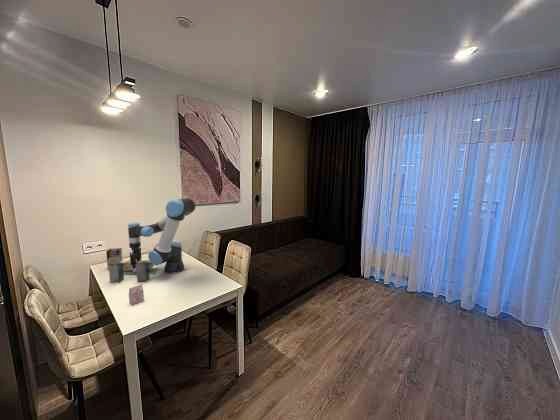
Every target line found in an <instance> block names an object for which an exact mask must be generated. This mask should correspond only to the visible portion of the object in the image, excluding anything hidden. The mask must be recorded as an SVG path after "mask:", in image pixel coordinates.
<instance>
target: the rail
mask: <svg viewBox="0 0 560 420" xmlns="http://www.w3.org/2000/svg"><path fill="white" fill-rule="evenodd" d="M140 262H149V269H151V268H154V267H155V265H153V264H152V263H151V262H150V260H149V259H148V260H145V259H144V260H142V259H141V261H137V260H136V264H137V266H140ZM119 263H123V269H133V266H132V265H131V264H130V260H122V261H121V262H119Z"/></svg>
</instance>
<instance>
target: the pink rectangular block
mask: <svg viewBox="0 0 560 420" xmlns="http://www.w3.org/2000/svg"><path fill="white" fill-rule="evenodd" d="M144 295H145V293H144V288H143V284H142V283H141V284H138V285H136V286H135V285H134V286H132V287H129V290H128V302H129V304H130V305H131V306H133V305H136V304H138V303H142V302H143V301H145V296H144Z"/></svg>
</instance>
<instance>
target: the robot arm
mask: <svg viewBox="0 0 560 420" xmlns="http://www.w3.org/2000/svg"><path fill="white" fill-rule="evenodd" d="M196 205H197V204H196V202H195V201H194V200H193V199H191V198H190V197H189V198H187V197H185V198H179V199H177V198H175V199H172V200H170V201H168V202H167V203H166V205H165V210H166V211H165V212H166V213H165V214H166V216H164V217H163V218H161V219H160V220H158V221H157V222H156V223H153V224H148V225H145V226H144V225H140V223H139V222H136V221H135V222H129V223H128V224H127V231H128V245H129V246H128V247H129V248H130V249H131V251H130V252H129V253H128V254H129V261H130V264H131V265H132V266H133V272H137V270H136V266H137V264H136V261H142V247H141V245H142V244H141V243H142V242H141V237H144V238H145V237H146V238H148V237H152V236H153V235H154V234H157V233H161V236H160V239H159V241H158V243H156V244H155V245H154V248H153V250H151V251H149V252H148V255H147V258H148V260H150V262H151V263H152V264H153V265H154V266H159V265H162V264H164V263H165V264H164V266H163V267H164V269H163V270H164V271H163V272H164V273H165V274H177V273H180V272H183V271H184V270H185V264H184V262H183V251H182V250H183V249H182V243H181V242H178V241H174V240H175V236H176V235H177V234H176V233H177V231H178V229H179V226H180V223H181V222H182V221H184V219H185V217H186V216H189V215H190V214H192V213H193V212H195V210H196Z"/></svg>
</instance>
